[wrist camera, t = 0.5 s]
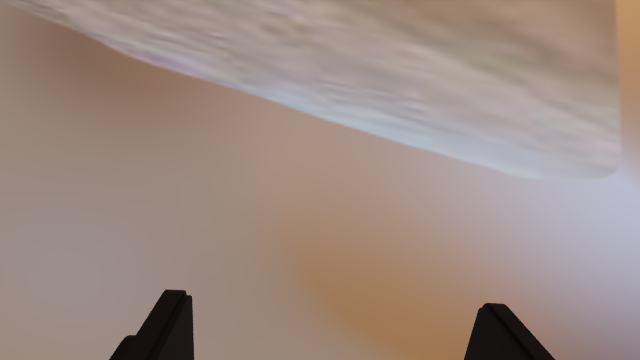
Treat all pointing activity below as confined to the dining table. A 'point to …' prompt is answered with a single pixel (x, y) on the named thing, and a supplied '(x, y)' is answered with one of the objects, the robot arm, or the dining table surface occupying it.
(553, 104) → the dining table surface
